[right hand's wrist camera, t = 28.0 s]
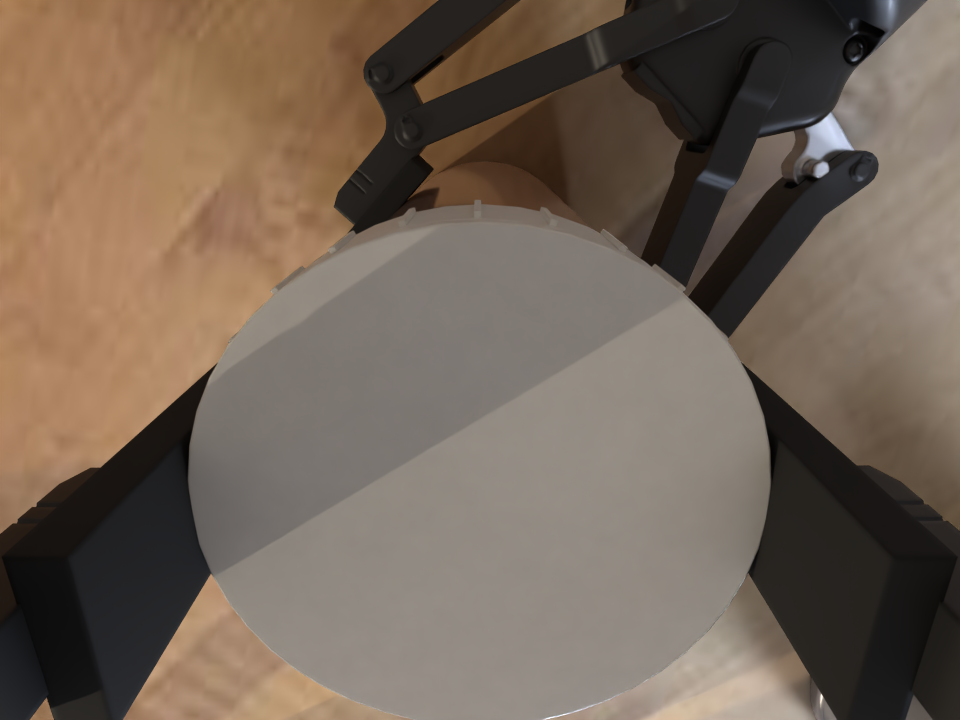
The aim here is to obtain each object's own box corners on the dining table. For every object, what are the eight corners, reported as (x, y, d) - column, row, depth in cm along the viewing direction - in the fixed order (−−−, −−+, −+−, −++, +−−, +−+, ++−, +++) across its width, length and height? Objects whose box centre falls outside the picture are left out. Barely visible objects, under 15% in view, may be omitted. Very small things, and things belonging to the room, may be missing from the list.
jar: (364, 200, 29) (175, 320, 11) (542, 132, 28) (647, 145, 10) (433, 364, 32) (369, 668, 14) (597, 308, 30) (752, 560, 13)
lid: (724, 620, 14) (766, 705, 12) (294, 662, 14) (263, 751, 12) (732, 166, 10) (792, 176, 8) (169, 237, 11) (97, 262, 9)
